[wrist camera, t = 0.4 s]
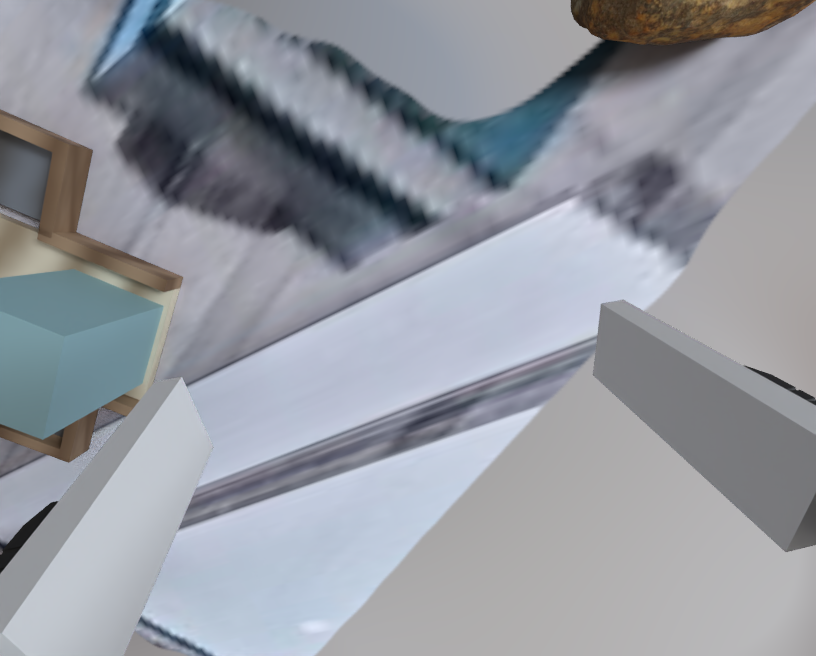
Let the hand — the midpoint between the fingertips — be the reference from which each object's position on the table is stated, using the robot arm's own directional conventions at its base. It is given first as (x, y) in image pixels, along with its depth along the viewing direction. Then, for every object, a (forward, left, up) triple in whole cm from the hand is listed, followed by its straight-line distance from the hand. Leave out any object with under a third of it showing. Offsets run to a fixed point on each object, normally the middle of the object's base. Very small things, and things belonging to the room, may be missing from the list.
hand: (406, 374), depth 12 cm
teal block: (+2, -31, -25) cm, 40 cm away
